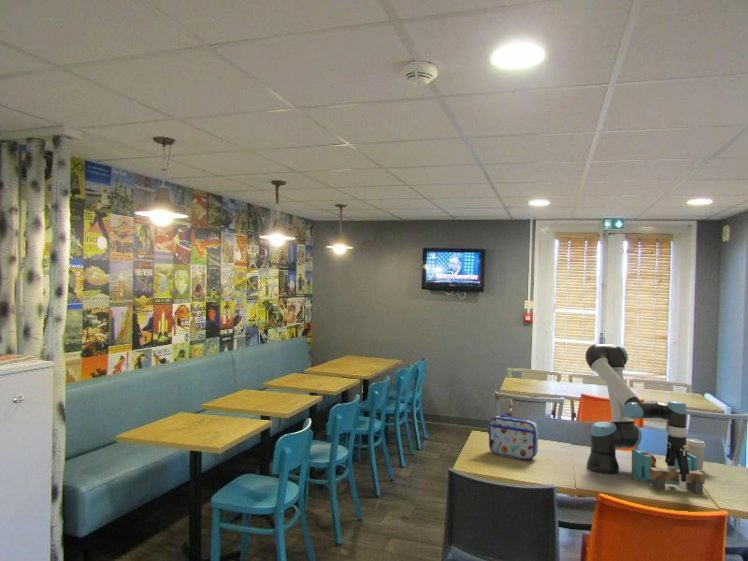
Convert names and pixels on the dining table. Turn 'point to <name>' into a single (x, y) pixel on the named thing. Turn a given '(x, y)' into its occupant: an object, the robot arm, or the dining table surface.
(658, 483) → the rests
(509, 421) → the lunch box
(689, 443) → the coffee cup
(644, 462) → the bracket
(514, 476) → the dining table surface
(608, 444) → the robot arm
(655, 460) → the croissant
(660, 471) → the rail
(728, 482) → the dining table surface
